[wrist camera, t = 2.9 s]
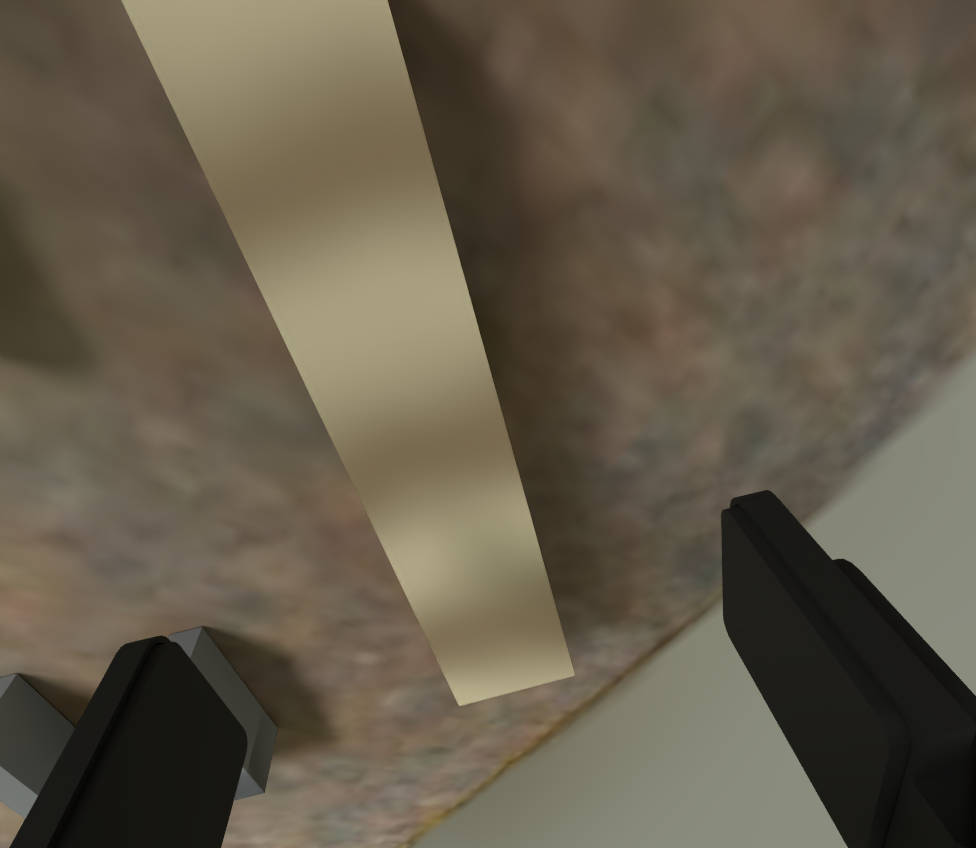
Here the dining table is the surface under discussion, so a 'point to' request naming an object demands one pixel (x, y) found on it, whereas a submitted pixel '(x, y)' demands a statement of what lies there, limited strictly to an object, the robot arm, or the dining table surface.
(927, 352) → the dining table surface
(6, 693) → the end cap
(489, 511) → the birch slat
